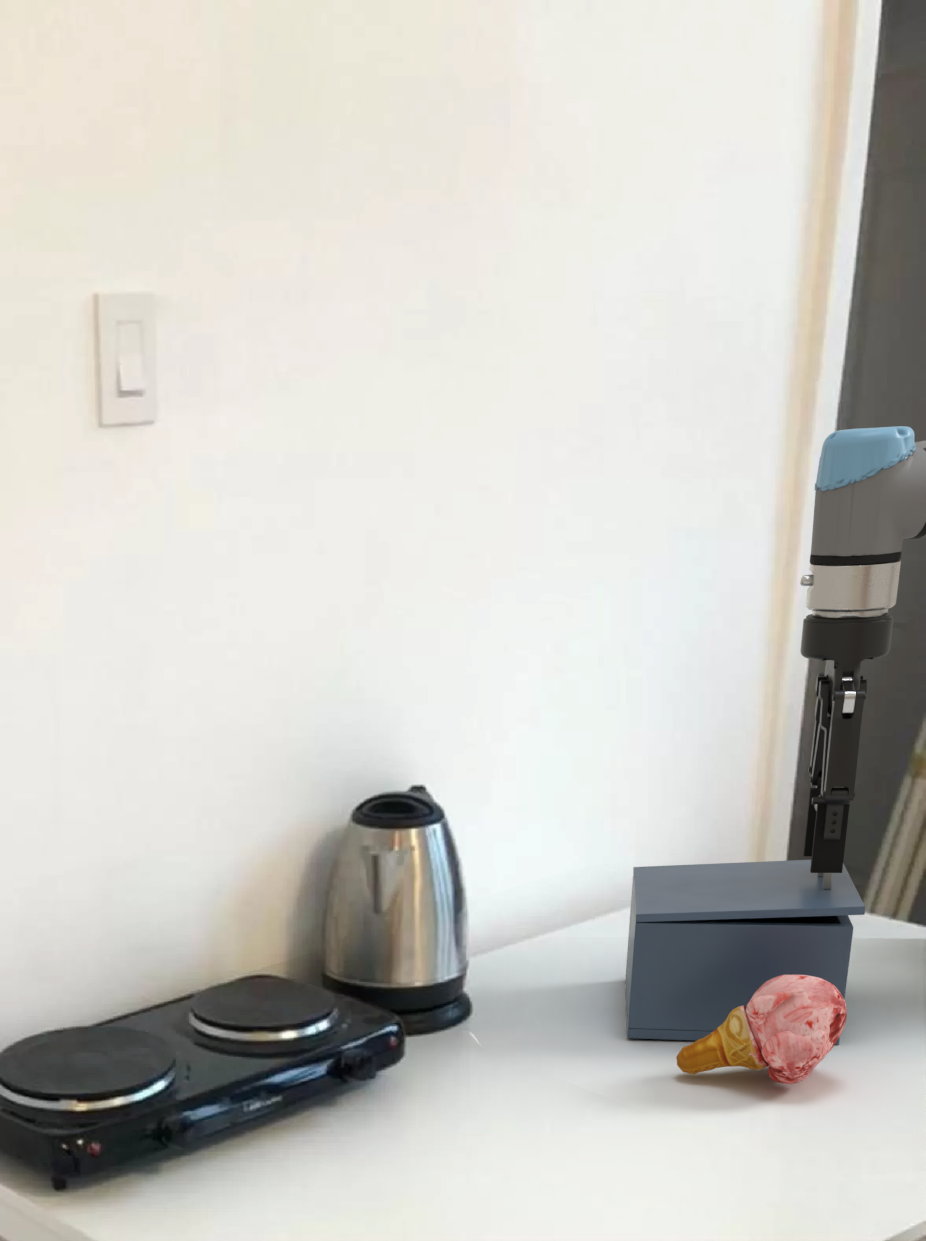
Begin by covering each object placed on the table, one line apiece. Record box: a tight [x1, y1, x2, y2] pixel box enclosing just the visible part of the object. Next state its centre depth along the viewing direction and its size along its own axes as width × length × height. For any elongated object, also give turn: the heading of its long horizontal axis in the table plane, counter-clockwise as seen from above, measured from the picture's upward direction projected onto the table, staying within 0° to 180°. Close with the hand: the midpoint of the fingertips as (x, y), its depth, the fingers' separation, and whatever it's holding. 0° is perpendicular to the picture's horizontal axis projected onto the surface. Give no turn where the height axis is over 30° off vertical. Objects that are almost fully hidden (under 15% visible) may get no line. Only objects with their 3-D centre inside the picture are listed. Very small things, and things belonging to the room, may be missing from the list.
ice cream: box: [676, 975, 848, 1085], centre depth 160 cm, size 11×10×15 cm
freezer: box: [624, 877, 854, 1046], centre depth 176 cm, size 19×19×12 cm
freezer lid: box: [632, 794, 866, 922], centre depth 172 cm, size 20×19×9 cm
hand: (822, 863), depth 170 cm, fingers closed on freezer lid, 6 cm apart
